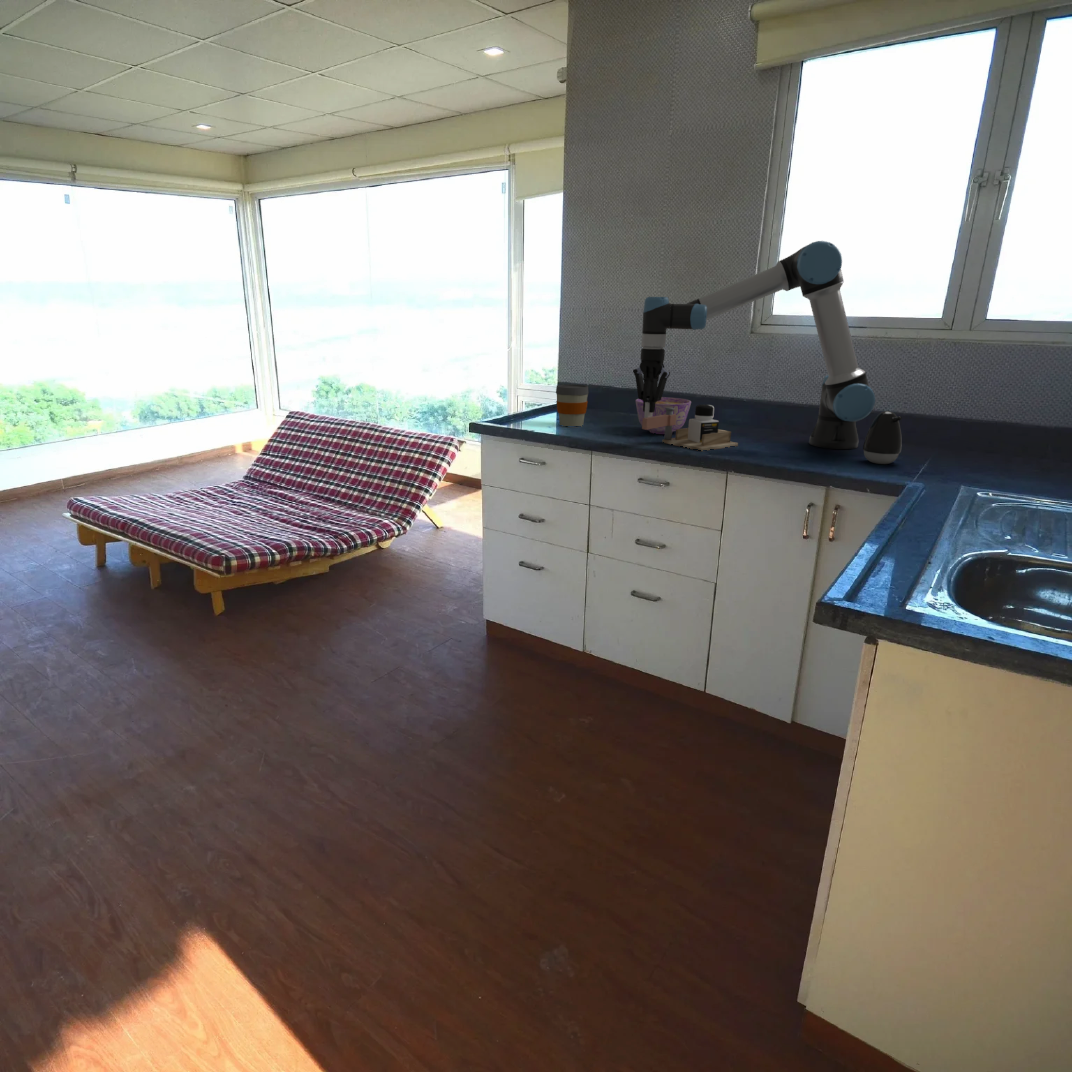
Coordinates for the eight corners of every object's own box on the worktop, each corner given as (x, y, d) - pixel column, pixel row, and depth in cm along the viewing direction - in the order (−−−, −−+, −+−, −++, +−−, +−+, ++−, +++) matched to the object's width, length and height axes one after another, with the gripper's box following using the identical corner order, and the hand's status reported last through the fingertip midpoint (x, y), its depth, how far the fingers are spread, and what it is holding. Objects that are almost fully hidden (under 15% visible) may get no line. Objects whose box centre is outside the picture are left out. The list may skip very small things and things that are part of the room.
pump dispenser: (878, 467, 200) (886, 414, 195) (853, 459, 209) (861, 409, 205) (907, 465, 203) (916, 413, 198) (881, 458, 212) (889, 408, 207)
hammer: (647, 444, 224) (649, 412, 221) (639, 443, 226) (641, 411, 223) (674, 438, 234) (676, 408, 231) (666, 437, 236) (668, 407, 233)
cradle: (737, 446, 229) (739, 432, 228) (701, 451, 220) (702, 437, 219) (698, 437, 243) (699, 424, 242) (662, 442, 235) (663, 429, 233)
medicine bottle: (699, 443, 228) (702, 406, 224) (687, 439, 234) (689, 404, 230) (717, 442, 230) (720, 405, 226) (704, 438, 236) (707, 403, 233)
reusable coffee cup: (550, 423, 271) (551, 384, 266) (580, 422, 275) (581, 383, 270) (561, 428, 260) (562, 388, 255) (592, 427, 263) (593, 387, 259)
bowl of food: (690, 438, 243) (693, 404, 239) (633, 436, 246) (634, 403, 242) (687, 428, 261) (690, 397, 258) (634, 427, 264) (636, 396, 261)
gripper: (676, 348, 218) (671, 423, 225) (642, 346, 226) (638, 418, 233) (664, 349, 212) (658, 425, 220) (629, 347, 221) (625, 421, 228)
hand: (648, 422), depth 227 cm, fingers closed
